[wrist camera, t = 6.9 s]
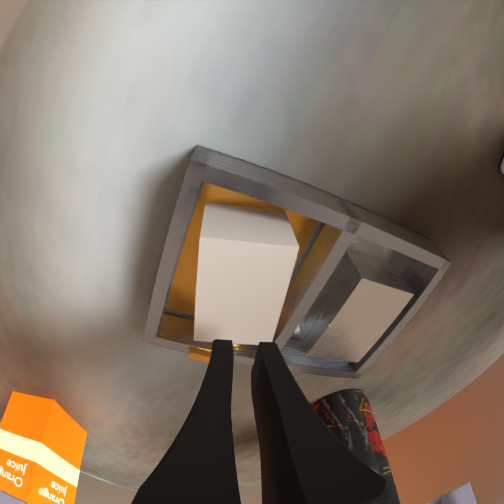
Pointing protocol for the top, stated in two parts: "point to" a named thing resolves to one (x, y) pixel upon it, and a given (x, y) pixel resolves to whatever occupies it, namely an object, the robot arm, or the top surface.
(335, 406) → the deodorant
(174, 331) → the rack
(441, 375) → the top surface
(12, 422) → the orange juice
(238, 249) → the off-white upright block
